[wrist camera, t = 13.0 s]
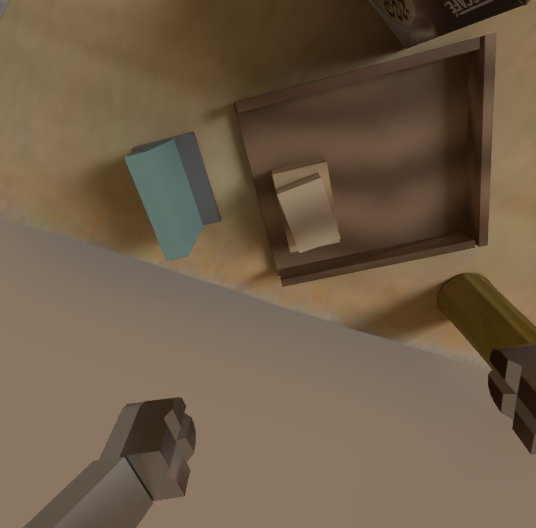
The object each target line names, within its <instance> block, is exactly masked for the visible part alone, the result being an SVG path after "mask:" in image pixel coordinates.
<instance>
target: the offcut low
mask: <svg viewBox="0 0 536 528" xmlns="http://www.w3.org/2000/svg"><path fill="white" fill-rule="evenodd" d="M317 172H318V173H319V175H320V177H321V179H322V182H323V185H324V189H325V192H326V195H327V198H328V201H329V204H330V207H331V210H332V213H333V216H334V219H335V222H336V215H335V209H334V203H333V197H332V191H331V184H330V178H329V172H328V166H327V161H326V160H325V159H324V157H323V158H319V159H315V160H311V161H307V162H303V163H298V164H294V165H290V166H286V167H282V168H278V169H274V170H272V176H273V180H274V184H275V189H276V193H277V188H279V187H281V186H284V185H286V184H289V183H292V182H294V181H297V180H299V179H302V178H305V177H307V176H310V175H312V174H315V173H317ZM277 197H278V196H277ZM278 202H279V206H280V210H281V214H282V219H283V223H284V227H285V232H286V236H287V240H288V245H289V249H290V253H292V252H296V251H299V250H298V248H297V245H296V243H295V240H294V237H293V235H292V232H291V230H290V227H289V225H288V222H287V219H286V217H285V214H284V212H283V209H282V207H281V204H280V201H279V199H278ZM336 225H337V222H336ZM337 229H338V228H337ZM338 242H340V240H336V241H333V242H331V243H328V244H325V245H329V244H334V243H338ZM322 246H324V245H322ZM319 247H320V246H319Z"/></svg>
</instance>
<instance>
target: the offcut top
mask: <svg viewBox="0 0 536 528" xmlns="http://www.w3.org/2000/svg"><path fill="white" fill-rule="evenodd" d="M277 196H278V199H279V201H280V204H281V207H282V209H283V212H284V214H285V217H286V219H287V222H288V225H289V227H290V230H291V232H292V235H293V237H294V240H295V243H296V245H297V248H298V250H299V253H302V252H305V251H308V250H311V249H313V248H316V247H319V246H322V245H325V244H328V243H331V242H333V241H336V240H339V239H341V238H340V235H339V232H338V229H337V225H336V222H335V219H334V216H333V213H332V210H331V207H330V204H329V201H328V198H327V195H326V192H325V189H324V185H323V182H322V179H321V177H320V175H319V173H318V172H317V173H315V174H312V175H310V176H307V177H305V178H302V179H299V180H297V181H294V182H292V183H289V184H286V185H284V186H281V187H279V188H277Z"/></svg>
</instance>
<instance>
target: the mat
mask: <svg viewBox="0 0 536 528" xmlns="http://www.w3.org/2000/svg"><path fill="white" fill-rule="evenodd" d="M172 139H174V141H175V144H176V147H177V150H178V153H179V156H180V159H181V162H182V165H183V168H184V171H185V173H186V176H187V179H188V182H189V185H190V188H191V191H192V194H193V197H194V200H195V203H196V206H197V209H198V212H199V214H200V217H201V220H202V223H203V225H205V224H210V223H214V222H218V221H221V217H220V214H219V211H218V208H217V205H216V202H215V198H214V195H213V192H212V189H211V186H210V183H209V179H208V176H207V173H206V170H205V167H204V164H203V160H202V157H201V154H200V151H199V148H198V144H197V141H196V138H195V135H194V132H191V133H187V134H184V135H180V136H176V137H172V138H168V139H165V140H161V141H157V142H153V143H149V144H145V145H142V146H138V147H134V151H135V152H137V151H139V150H142V149H144V148H146V147H148V146H151V145H153V144H156V143H160V142H164V141H168V140H172Z"/></svg>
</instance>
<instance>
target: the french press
mask: <svg viewBox="0 0 536 528" xmlns="http://www.w3.org/2000/svg"><path fill="white" fill-rule="evenodd" d="M8 2H9V0H0V19H1V17H2V15H3V13H4V12H5V10H6V8H7V6H8Z"/></svg>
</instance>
